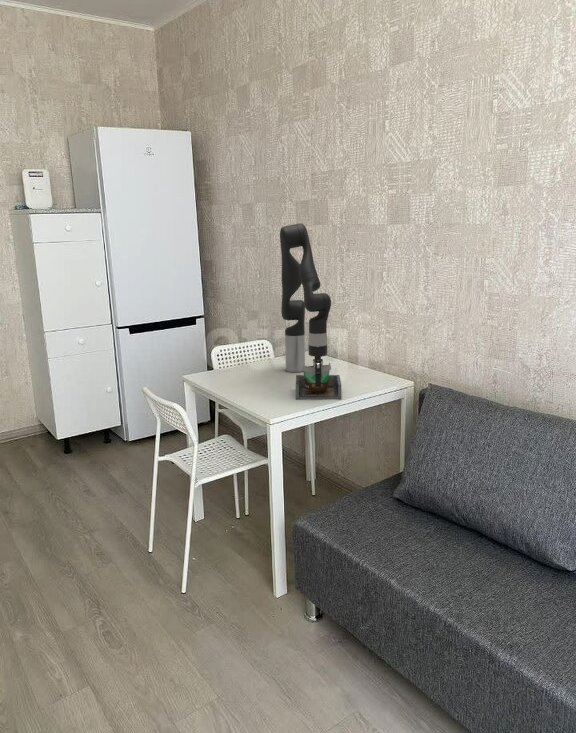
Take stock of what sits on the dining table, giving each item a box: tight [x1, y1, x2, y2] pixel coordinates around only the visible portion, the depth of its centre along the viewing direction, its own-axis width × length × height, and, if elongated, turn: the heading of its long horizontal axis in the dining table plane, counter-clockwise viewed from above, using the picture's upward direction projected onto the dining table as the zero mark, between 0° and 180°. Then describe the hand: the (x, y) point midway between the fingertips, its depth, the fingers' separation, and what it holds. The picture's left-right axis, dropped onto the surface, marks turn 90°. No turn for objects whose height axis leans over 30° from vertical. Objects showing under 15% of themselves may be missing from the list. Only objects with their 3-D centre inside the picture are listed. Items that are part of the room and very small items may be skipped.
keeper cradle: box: [295, 374, 342, 401], centre depth 245 cm, size 15×18×6 cm
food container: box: [302, 362, 332, 391], centre depth 242 cm, size 12×6×10 cm, turn 104°
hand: (318, 384), depth 244 cm, fingers closed on food container, 5 cm apart
